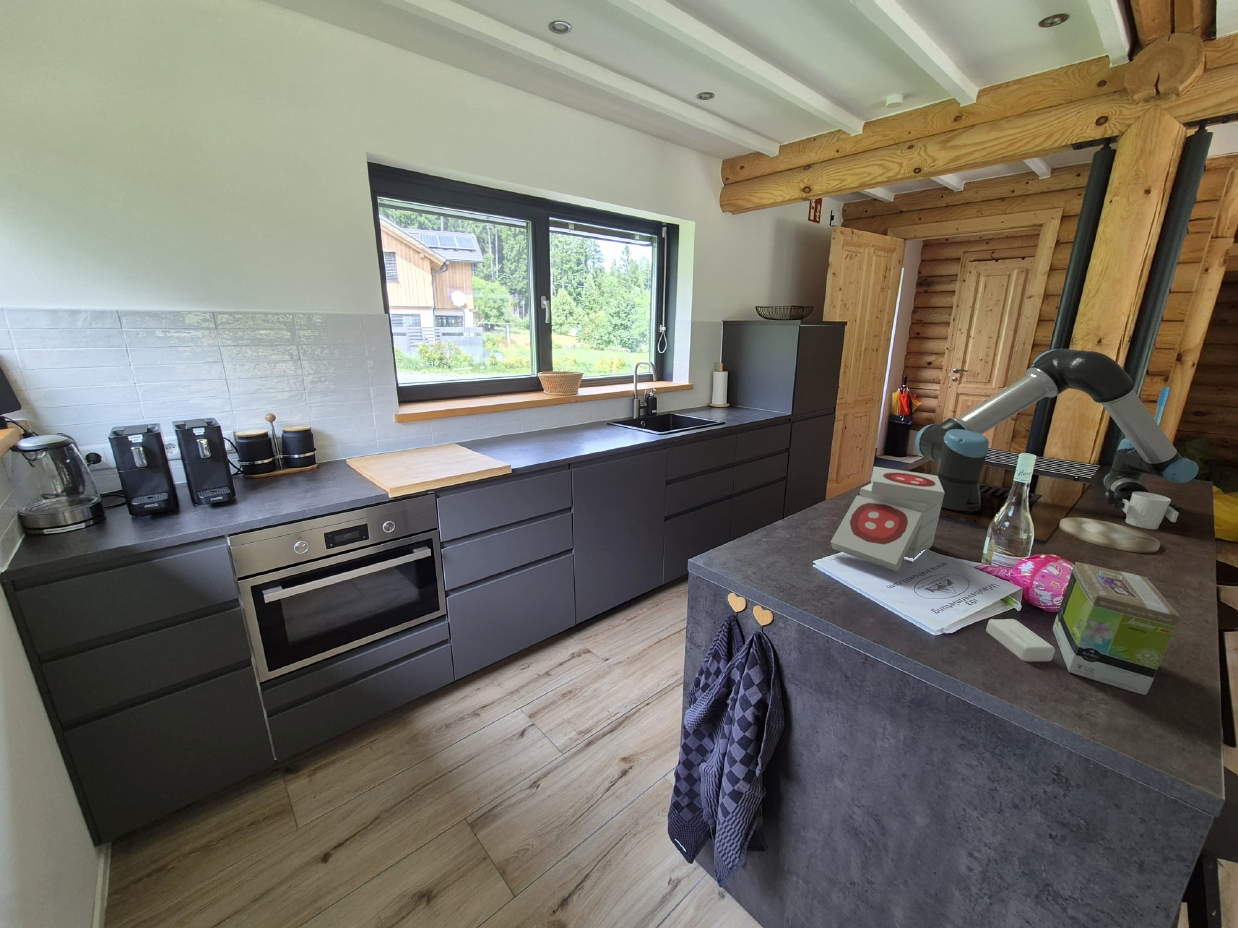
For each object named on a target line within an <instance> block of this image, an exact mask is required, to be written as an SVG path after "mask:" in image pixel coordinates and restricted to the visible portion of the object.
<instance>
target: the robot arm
mask: <svg viewBox="0 0 1238 928" xmlns="http://www.w3.org/2000/svg"><path fill="white" fill-rule="evenodd" d="M1135 388H1136V384H1135V382H1134V381H1133V379H1132V378H1131V376H1130V375H1129V374H1128V373H1127V372H1126V371H1125V369H1124V368H1123V367H1122V366H1121V365H1120V364H1119V363H1118V362H1116V360H1114V359H1113V358H1111V357H1110V356H1109V355H1107V354H1105V353H1102V352H1098V351H1093V350H1079V349H1078V350H1077V349H1070V348H1058V349H1050V350H1047V351H1044V352H1043V353H1041V354H1039V355H1038V356H1036V358H1035V359H1034V360H1033V362H1032V365H1031V366H1030V367H1029V368H1027V369H1026V372H1025V376H1024V377H1022V378H1021V379H1019V380H1017V381H1016V382H1013V383H1012V384H1011V385H1009V386H1007V387H1006V388H1004V389H1003V390H1001V391H1000V392H998V393H996V394H995V395H993V396H991V397H990V398H988V399H986V400H985V401H983V402H982V403H980V404H979V405H977V406H975V407H974V408H972V409H970V410H968V411H967V412H966V413H963V414H962V415H961V416H959V417H957V418H956V417H948V418H947V419H945V420H944V421H942V422H941V423H939V424H938V423H934V424H929V425H928V424H927V425H926V426H923V428H921V429H920V430H919V432H918V433H917V434H916V438H915V442H914V443H915V448H916V450H917V452H918V454H920V455H921V456H922V457H924V458H925V459H926V460H928V461H929V460H930V461H931V462H934V463H935V464H937V469H936V476H938V478H939V481H940V483H941V485H942V488H943V490H944V492H945V493H944V497H943V502H942V506H941V507H944V508H949V509H956V510H966V511H968V510H970V511H971V510H976V509H979V508H980V509H981V506H982V500H981V491H980V483H981V478H982V474H983V470H984V467H985V464H986V458H987V455H988V453H989V445H990V442H989V439H988V438H987V436H986V435H984V434H985V433H987V432H988V431H991V430H992V429H993V428H994V429H995V427H997V426H999V425H1000V424H1002V423H1004V422H1005V421H1007V420H1009V419H1011V418H1012V417H1014V416H1016V415H1018V414H1019V413H1021V412H1022V411H1024V410H1026V409H1027V408H1028V407H1030V406H1032V405H1034V404H1035V403H1037V402H1039V401H1040V400H1042V399H1043V398H1045V397H1046V398H1054V397H1056V396H1058V395H1061V394H1062V393H1063V392H1066V391H1067V390H1069V389H1071V390H1076V391H1080V392H1083V393H1085V394H1087V396H1089V397H1090V398H1091V399H1092V400H1093V402H1095V403H1097V404H1101V405H1102V406H1103V408H1104V409H1105V411H1106V412H1107V413H1108V414H1109V416H1110V417H1111V418H1112V420H1113V421H1114V423H1116V425H1117V426H1118V428H1119V429H1120V430H1121V432H1122V433H1123V434H1124V436H1125V437H1126V438H1123V439H1121V441H1119V442H1120V443H1119V444H1118V446H1117V449H1116V453H1115V455H1114V460H1113V463H1112V466H1111V469H1110V470H1109V473H1107V475H1105V477H1104V478H1103V484H1104V487H1105V489H1106V492H1105V495H1104V498H1106V504H1107V505H1110V506H1111V505H1112V504H1113V505H1114V506H1113V509H1117V510H1120V509H1121V510H1122V511H1123V512H1124V513H1125V514H1130V512H1131V509H1132V505H1131V504H1130V499H1131V496H1132V492H1147V493H1150V490H1148V489H1147V487H1145V486H1144V484H1142V483H1141V480H1142V476H1143V473H1144V474H1147V475H1149V476H1153V477H1156V478H1159V479H1161V480H1164V481H1166V482H1172V483H1176V484H1185V483H1188V482H1191V480H1193V479H1194V478H1196V476H1197V475H1198V472H1199V465H1198V464H1197V462H1196V461H1194V460H1191V459H1189V458H1187V457H1182V455H1181V454H1180V453H1179V451H1178V450H1177V448H1175V446H1174V445H1173V443H1172V442H1171V440H1170V439H1169V438H1168V436H1167V435H1166V433H1165V432H1164V431H1163V429H1162V428H1161V426H1160V425H1159V423H1158V422H1157V421H1156V419H1155V418H1154V417H1153V415H1152V414H1151V413H1150V411H1149V410H1148V408H1147V407H1146V405H1145V404H1144V403H1143V401H1142V400H1141V399H1140V397H1139V396H1138V395H1137V393H1136V392H1135ZM1183 510H1184V508H1183V507H1182V506H1180V505H1178V504H1176V503H1174V502H1173V501H1171V502H1170V504H1169V506H1168V508H1167V511H1166V513H1165V515H1164V517H1166V518H1167V519H1168V520H1169V521H1170V522H1171V523H1176V522H1177V519H1178V517H1181V516H1182V513H1183Z"/></svg>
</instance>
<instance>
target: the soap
mask: <svg viewBox="0 0 1238 928" xmlns="http://www.w3.org/2000/svg"><path fill="white" fill-rule="evenodd" d="M987 622H988V623H987V626H986V630H985V631H986V633H988V634H989V635H990V636H991V637H993V638H994V639H995V640H996V641H997V642H999V643H1000V644H1001V645H1002V646H1004V647H1005V648H1006V649H1007V650H1009V651H1010V652H1011V653H1012V654H1014V655H1015V656H1016V657H1017V658H1019V659H1020V660H1021V661H1023V662H1051V661H1052V660H1053V658H1054V655H1055V652H1056V649H1055V647H1054V646H1053V645H1051V644H1050V643H1049V642H1047V641H1046V640H1044V639H1043V638H1042V637H1040V636H1039V635H1037V634H1036V633H1035V632H1033V631H1032V630H1030V629H1029V628H1028V627H1026V626H1025V625H1024V624H1022V623H1021V622H1019V621H1018V620H1016V619H1014V618H1006V619H993V618H991V619H989V620H988V621H987Z"/></svg>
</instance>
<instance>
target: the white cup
mask: <svg viewBox="0 0 1238 928" xmlns="http://www.w3.org/2000/svg"><path fill="white" fill-rule="evenodd" d="M1170 502H1172V499H1171V498H1169V497H1167V496H1164V495H1161V494H1157V493H1152V492H1149V493H1147V492H1132V496H1131V499H1130V504H1131V505H1132V509H1131V512H1130V514H1126V513H1125V514H1126V515H1125V516H1126V518H1125V521H1124V522H1125V523H1127V524H1129V525H1131V526H1133V527H1138V528H1141V529H1147V530H1158V529H1159V526H1160V524H1161V523H1162V521H1163V519H1164V517H1165V513H1166V511H1167V508H1168V506H1169V504H1170Z"/></svg>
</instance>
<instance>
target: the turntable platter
mask: <svg viewBox="0 0 1238 928" xmlns="http://www.w3.org/2000/svg"><path fill="white" fill-rule="evenodd" d="M1058 527H1059V529H1060V530H1061V531H1062V532H1064V533H1066V534H1068V535H1069V536H1071V537H1074V538H1076V539H1079V540H1081V541H1085V542H1088V543H1090V544H1093V545H1097V546H1100V547H1104V548H1109V549H1113V550H1119V551H1123V552H1129V553H1130V552H1131V553H1138V554H1139V553H1141V554H1143V553H1144V554H1149V553H1156V552H1158V551H1159V549H1160V547H1161V542H1160V541H1159V540H1158V539H1157V538H1155V537H1154V536H1152V535H1150V534H1147V533H1146V532H1143V531H1140V530H1137V529H1135V528H1133V527H1129V526H1127V525H1126V526H1125V525H1121V524H1117V523H1114V522H1110V521H1104V520H1100V519H1093V518H1087V517H1086V518H1085V517H1075V516H1074V517H1063V518H1061V519H1060V522H1059V526H1058Z"/></svg>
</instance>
